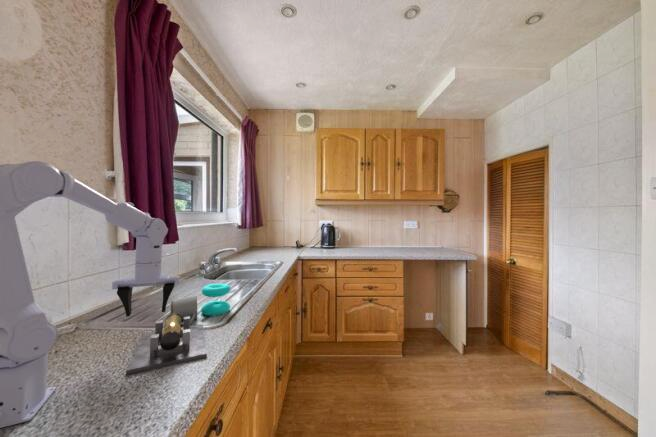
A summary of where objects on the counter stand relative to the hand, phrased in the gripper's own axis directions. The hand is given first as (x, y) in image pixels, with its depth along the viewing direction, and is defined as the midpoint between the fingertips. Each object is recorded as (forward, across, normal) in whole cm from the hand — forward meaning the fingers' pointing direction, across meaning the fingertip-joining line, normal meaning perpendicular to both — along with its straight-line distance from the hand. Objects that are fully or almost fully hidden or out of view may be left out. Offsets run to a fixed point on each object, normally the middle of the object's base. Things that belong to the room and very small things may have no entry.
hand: (146, 313), depth 67 cm
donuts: (+9, -19, -22) cm, 31 cm away
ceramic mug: (+10, -9, -18) cm, 22 cm away
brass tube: (+7, -6, +2) cm, 9 cm away
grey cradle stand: (+9, -6, +2) cm, 11 cm away
